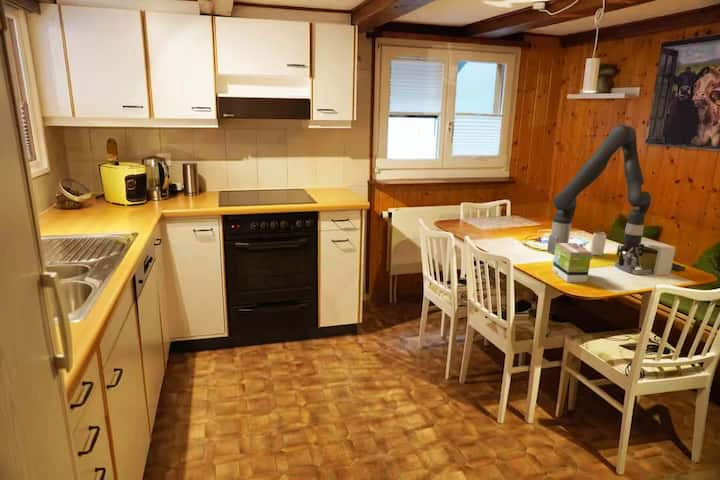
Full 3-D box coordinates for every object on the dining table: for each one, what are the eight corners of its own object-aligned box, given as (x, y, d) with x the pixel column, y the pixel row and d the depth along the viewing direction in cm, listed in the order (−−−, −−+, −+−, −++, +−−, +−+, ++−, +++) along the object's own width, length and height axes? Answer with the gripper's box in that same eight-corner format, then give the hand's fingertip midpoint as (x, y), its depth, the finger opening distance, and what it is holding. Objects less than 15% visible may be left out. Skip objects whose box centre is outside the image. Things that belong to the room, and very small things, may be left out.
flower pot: (656, 272, 238) (660, 255, 236) (636, 269, 242) (640, 251, 240) (657, 268, 245) (660, 251, 243) (637, 264, 250) (641, 247, 247)
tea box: (551, 271, 234) (555, 242, 230) (571, 271, 235) (575, 242, 231) (566, 282, 220) (571, 251, 216) (587, 283, 221) (592, 251, 217)
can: (598, 256, 261) (602, 234, 258) (587, 253, 266) (591, 232, 263) (605, 254, 265) (609, 233, 261) (594, 251, 270) (597, 230, 266)
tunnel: (655, 275, 234) (661, 248, 231) (625, 263, 251) (630, 238, 247) (669, 273, 237) (675, 247, 233) (638, 262, 253) (643, 237, 250)
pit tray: (676, 271, 241) (677, 267, 241) (652, 262, 254) (653, 259, 253) (684, 270, 243) (685, 267, 242) (659, 261, 255) (660, 258, 255)
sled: (635, 274, 233) (638, 260, 231) (612, 265, 245) (615, 252, 243) (671, 271, 240) (674, 257, 238) (647, 262, 252) (650, 249, 251)
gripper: (628, 235, 229) (622, 268, 233) (651, 233, 233) (645, 266, 238) (615, 231, 236) (610, 263, 240) (638, 230, 240) (632, 261, 244)
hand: (627, 264), depth 239 cm, fingers open, 8 cm apart
